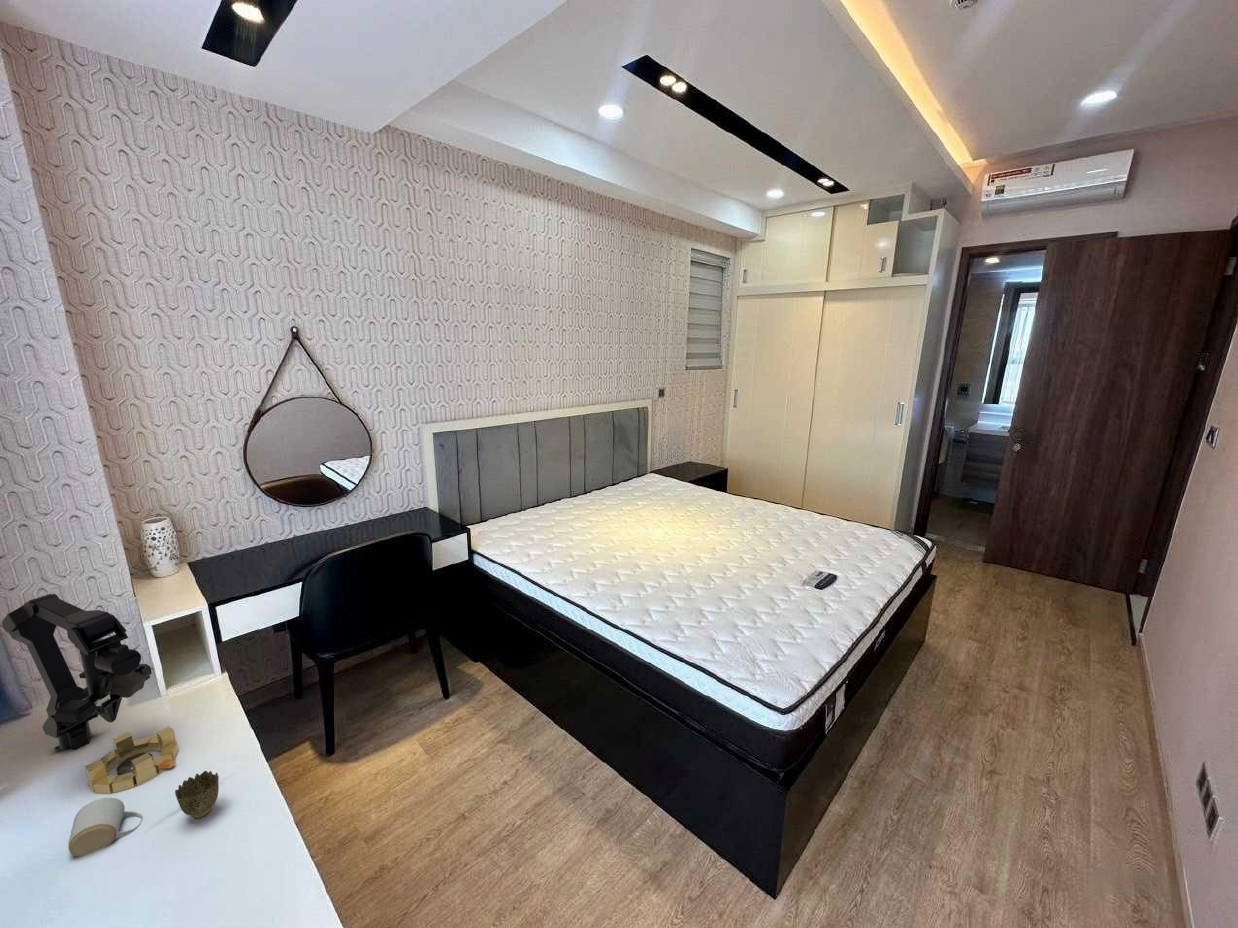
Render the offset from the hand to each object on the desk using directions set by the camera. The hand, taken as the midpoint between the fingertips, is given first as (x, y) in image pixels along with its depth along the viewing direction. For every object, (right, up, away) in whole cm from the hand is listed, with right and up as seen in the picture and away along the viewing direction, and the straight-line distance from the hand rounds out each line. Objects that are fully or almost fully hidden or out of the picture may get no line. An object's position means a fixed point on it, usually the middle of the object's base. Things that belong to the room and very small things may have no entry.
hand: (112, 721), depth 125 cm
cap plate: (+6, -12, 0) cm, 14 cm away
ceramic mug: (+17, -16, -17) cm, 29 cm away
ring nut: (+6, -11, -1) cm, 13 cm away
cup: (+32, -15, -11) cm, 37 cm away
